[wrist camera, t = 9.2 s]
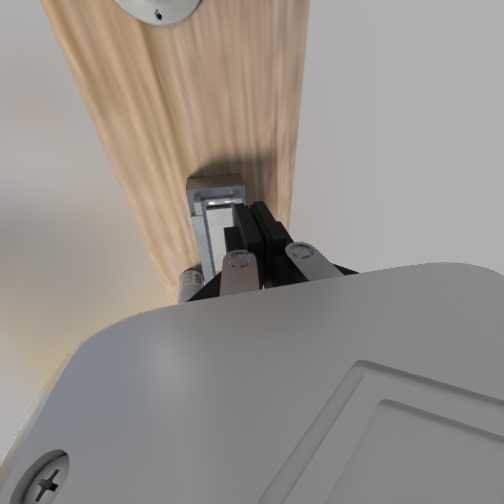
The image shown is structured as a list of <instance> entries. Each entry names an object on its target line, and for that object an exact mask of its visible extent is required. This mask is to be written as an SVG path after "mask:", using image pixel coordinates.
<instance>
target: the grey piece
mask: <svg viewBox="0 0 504 504" xmlns="http://www.w3.org/2000/svg"><path fill="white" fill-rule="evenodd" d="M186 194H187V199H188V203H189V208H190V213H191V218H192V222H193V227H194V232H195V237H196V242H197V246H198V251H199V256H200V261H201V265H202V270H203V275H204V280H205V285H206V284H207V283H208V282H209V281H210V280H211V279H213V278H214V277H215V276H216V271H215V264H214V258H213V252H212V245H211V239H210V233H209V227H208V220H207V214H206V208H212V207H223V206H231V207H232V219H233V226H235V221H234V204H237V203H244V205H246V192H245V184H244V182H243V180H242V178H241V176H240V175H239V174H234V175H220V176H206V177H193V178H187V185H186Z"/></svg>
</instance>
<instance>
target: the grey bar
mask: <svg viewBox="0 0 504 504" xmlns="http://www.w3.org/2000/svg"><path fill="white" fill-rule="evenodd" d="M206 214H207V220H208V227H209V233H210V239H211V245H212V252H213V258H214V264H215V271H216V275H217V274H218V273H219V272H221V271H222V264H223V258H224V256H225V255H226V247H225V239H224V229H223V228H224V227H233V219H232V207H231V206H223V207H212V208H206Z"/></svg>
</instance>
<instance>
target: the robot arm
mask: <svg viewBox="0 0 504 504" xmlns="http://www.w3.org/2000/svg"><path fill="white" fill-rule="evenodd" d="M114 1H115V2H116V3H117V4H118V5H119V6H120V7H121V8H122V9H124V10H125V11H126V12H127V13H128V14H130V15H131V16H132V17H134V18H136V19H138V20H139V21H141V22H143V23H146V24H148V25H151V26H155V27H170V26H175V25H177V24H179V23H181V22H183V21H185V20H186V19H187V18H188V17H189V16H190V15H191V14H192V13H193V11H194V10H195V9H196V7H197V6H198V4H199V2H200V0H114ZM159 14H160V15H161V16H162V19H161V20H159V19H158V15H159ZM234 221H235V226H233V227H224V228H223V229H224V239H225V247H226V255H225V256H224V258H223V264H222V271H221V272H219V273H218V274H217V275H216V276H215V277H214V278H213V279H211V280H210V281H209V282H208V283H207V284H206V285H205V286H204V287H202V288H201V289H200V290H199V291H198V292H197V293H196V294H194V295H193V296H192V297H191V298H190V299H189V300H188V301H187V302H186V303H181V304H176V305H171V306H166V307H162V308H156V309H153V310H149V311H146V312H141V313H138V314H136V315H132V316H130V317H127V318H124V319H121V320H119V321H117V322H115V323H113V324H111V325H109V326H106V327H104V328H102V329H100V330H99V331H97V332H95V333H93V334H92V335H90V336H89V337H87V338H85V339H84V340H83V341H82V342H80V343H79V344H78V345H76V346H75V347H74V348H73V349H72V350H71V351H70V352H69V353H68V354H67V355H66V357H65V358H64V359H63V360H62V361H61V363H60V364H59V365H58V367H57V368H56V369H55V371H54V372H53V374H52V376H51V377H50V378H49V380H48V381H47V383H46V384H45V386H44V387H43V389H42V391H41V392H40V394H39V396H38V397H37V399H36V401H35V402H34V404H33V406H32V407H31V409H30V411H29V412H28V414H27V416H26V418H25V420H24V421H23V423H22V425H21V427H20V429H19V431H18V432H17V434H16V436H15V438H14V440H13V441H12V443H11V445H10V447H9V449H8V451H7V453H6V454H5V456H4V458H3V460H2V461H1V463H0V504H504V276H503V275H501V274H499V273H497V272H495V271H493V270H490V269H487V268H484V267H480V266H475V265H470V264H462V263H444V262H442V263H426V264H418V265H410V266H403V267H396V268H390V269H384V270H378V271H371V272H365V273H358V272H355V271H352V270H350V269H347V268H344V267H341V266H338V265H335V264H332V263H331V262H329V261H328V260H327V259H326V258H325V257H324V256H323V255H322V254H321V253H320V252H319V251H318V250H317V249H316V248H315V247H313V246H312V245H310V244H308V243H304V242H294V241H293V240H292V239H291V237H290V235H289V234H288V232H287V231H286V229H285V228H284V226H283V225H282V223H281V222H280V221H277V222H276V221H275V219H274V217H273V216H272V214H271V213H270V211H269V210H268V208H267V206H266V205H265V203H264V202H263V201H258V202H253V205H250V210H249V208H248V205H244V203H237V204H234ZM263 285H264V288H265V289H263Z"/></svg>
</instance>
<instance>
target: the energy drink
mask: <svg viewBox="0 0 504 504" xmlns="http://www.w3.org/2000/svg"><path fill="white" fill-rule="evenodd" d="M202 287H204V284H203V275H202V274H201V273H200V272H198V271H195V270H188V271H185V272H184V273H182V274H181V276H180V279H179V289H178V299H177V304H181V303H186V302H187V301H188V300H189V299H190V298H191V297H192V296H193V295H194V294H196V293H197V292H198V291H199V290H200V289H201V288H202Z"/></svg>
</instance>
